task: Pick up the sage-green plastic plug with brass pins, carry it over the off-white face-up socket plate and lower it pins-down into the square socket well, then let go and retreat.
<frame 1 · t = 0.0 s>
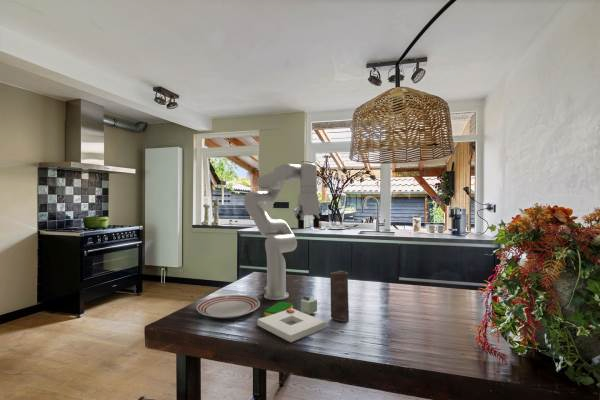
hand: (308, 228, 140), 37 cm above the table, tool pointing down, fingers open, 9 cm apart
plug: (308, 313, 134), on the table
socket: (291, 326, 120), on the table
dinner plate: (228, 311, 137), on the table
dish sponge: (279, 312, 137), on the table
candle: (339, 320, 127), on the table
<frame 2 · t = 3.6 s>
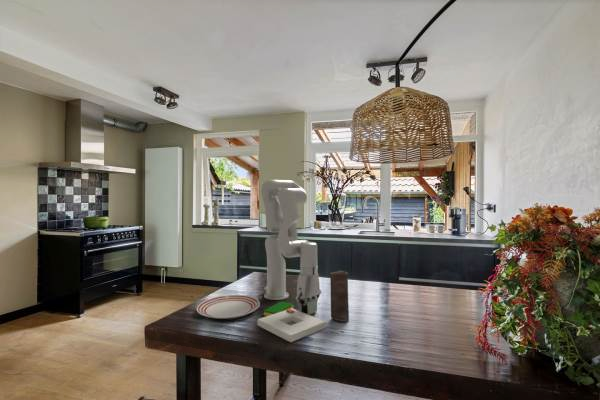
hand: (309, 311, 134), 1 cm above the table, tool pointing down, fingers closed on plug, 5 cm apart
plug: (309, 313, 134), on the table, touching gripper
everything else where it was.
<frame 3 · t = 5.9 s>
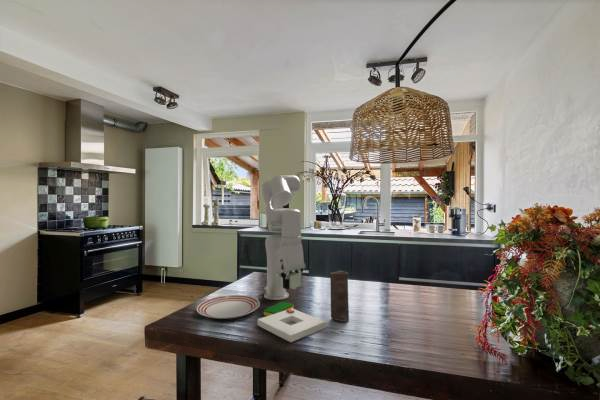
hand: (291, 286, 120), 16 cm above the table, tool pointing down, fingers closed on plug, 5 cm apart
plug: (291, 288, 120), point 15 cm above the table, touching gripper
everything else where it was.
when the fingers open (3 cm above the table, at t = 8.3 s): plug drops 2 cm, resting on socket.
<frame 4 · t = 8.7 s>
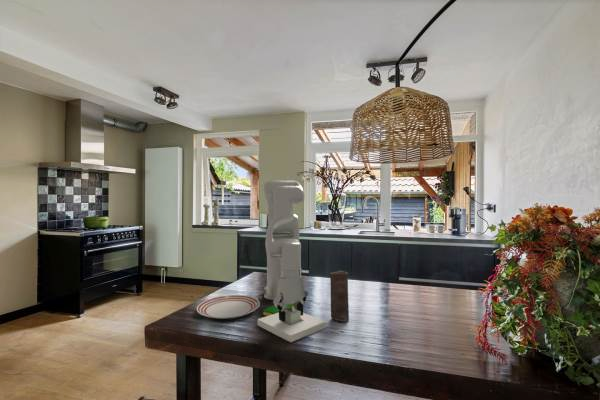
hand: (291, 317, 120), 4 cm above the table, tool pointing down, fingers open, 8 cm apart
plug: (291, 325, 120), resting on socket
everything else where it was.
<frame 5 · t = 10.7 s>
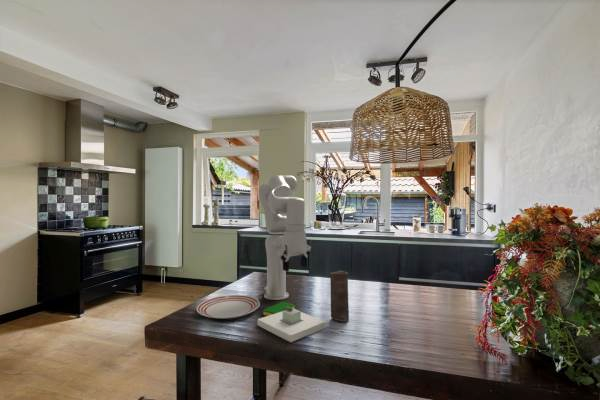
hand: (294, 268, 128), 21 cm above the table, tool pointing down, fingers open, 9 cm apart
nothing on the table moved.
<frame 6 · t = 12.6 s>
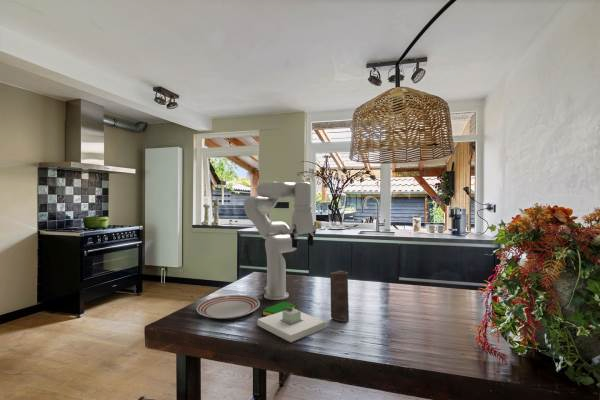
hand: (302, 246, 140), 28 cm above the table, tool pointing down, fingers open, 9 cm apart
nothing on the table moved.
at the end: plug 0.1 cm off-centre on the socket, point 0.3 cm above the socket's base; plug tilted 0°; the gripper is holding nothing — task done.
